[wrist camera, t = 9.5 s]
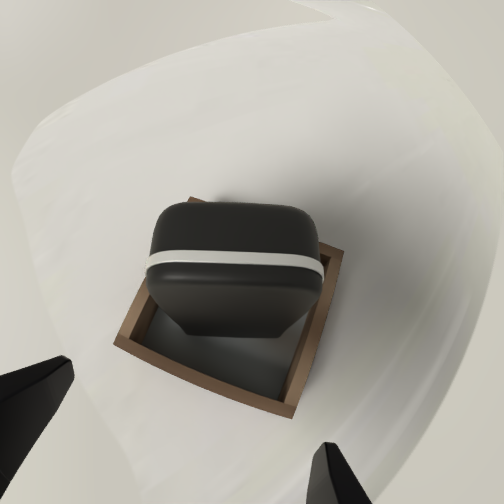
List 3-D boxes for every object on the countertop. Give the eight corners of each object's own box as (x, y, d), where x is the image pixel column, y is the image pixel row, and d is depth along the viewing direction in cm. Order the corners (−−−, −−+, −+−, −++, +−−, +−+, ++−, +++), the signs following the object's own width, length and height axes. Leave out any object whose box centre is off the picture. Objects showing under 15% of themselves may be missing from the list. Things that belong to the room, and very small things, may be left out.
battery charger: (282, 287, 21) (328, 191, 11) (283, 339, 20) (341, 285, 9) (185, 283, 21) (147, 184, 11) (181, 335, 19) (127, 277, 9)
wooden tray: (282, 413, 18) (291, 419, 15) (130, 351, 19) (112, 344, 16) (329, 270, 23) (344, 251, 20) (194, 221, 24) (190, 196, 21)
